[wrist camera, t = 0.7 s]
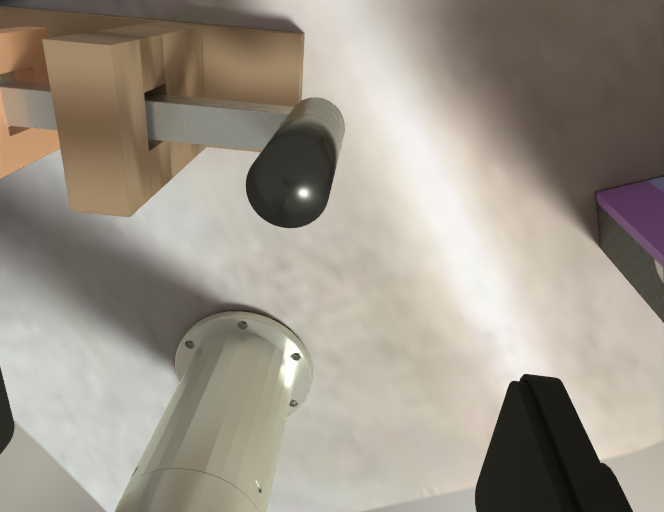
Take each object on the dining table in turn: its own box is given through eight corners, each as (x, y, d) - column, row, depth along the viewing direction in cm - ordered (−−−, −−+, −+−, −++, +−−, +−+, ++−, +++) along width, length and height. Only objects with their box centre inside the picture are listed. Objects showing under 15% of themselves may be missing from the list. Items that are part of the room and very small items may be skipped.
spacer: (65, 145, 34) (-6, 181, 27) (47, 143, 34) (-28, 178, 27) (46, 28, 30) (-39, 38, 24) (26, 26, 30) (-64, 35, 24)
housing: (298, 149, 39) (258, 230, 26) (23, 122, 39) (-150, 188, 26) (304, 33, 35) (260, 59, 22) (0, 5, 36) (-214, 15, 23)
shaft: (342, 158, 29) (326, 232, 20) (-29, 121, 30) (-199, 177, 21) (347, 100, 28) (332, 152, 19) (-43, 63, 29) (-232, 97, 20)
